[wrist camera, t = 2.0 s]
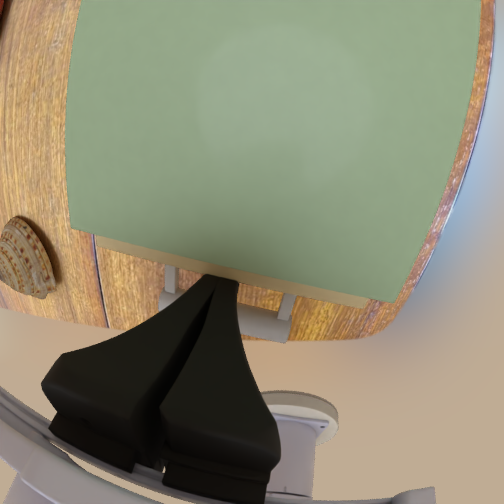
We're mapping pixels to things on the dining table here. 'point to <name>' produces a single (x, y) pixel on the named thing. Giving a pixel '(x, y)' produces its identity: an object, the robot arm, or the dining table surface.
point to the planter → (1, 6)
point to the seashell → (25, 261)
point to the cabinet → (270, 131)
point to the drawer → (249, 317)
